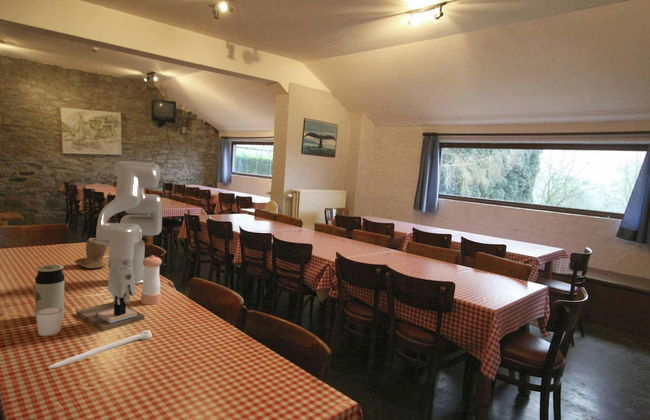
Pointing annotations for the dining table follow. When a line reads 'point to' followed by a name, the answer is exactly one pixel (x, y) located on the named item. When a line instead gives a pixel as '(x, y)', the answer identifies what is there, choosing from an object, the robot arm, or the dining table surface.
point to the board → (101, 324)
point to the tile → (111, 318)
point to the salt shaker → (151, 281)
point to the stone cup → (93, 254)
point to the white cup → (49, 320)
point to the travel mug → (49, 287)
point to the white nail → (103, 348)
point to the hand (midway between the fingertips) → (119, 314)
